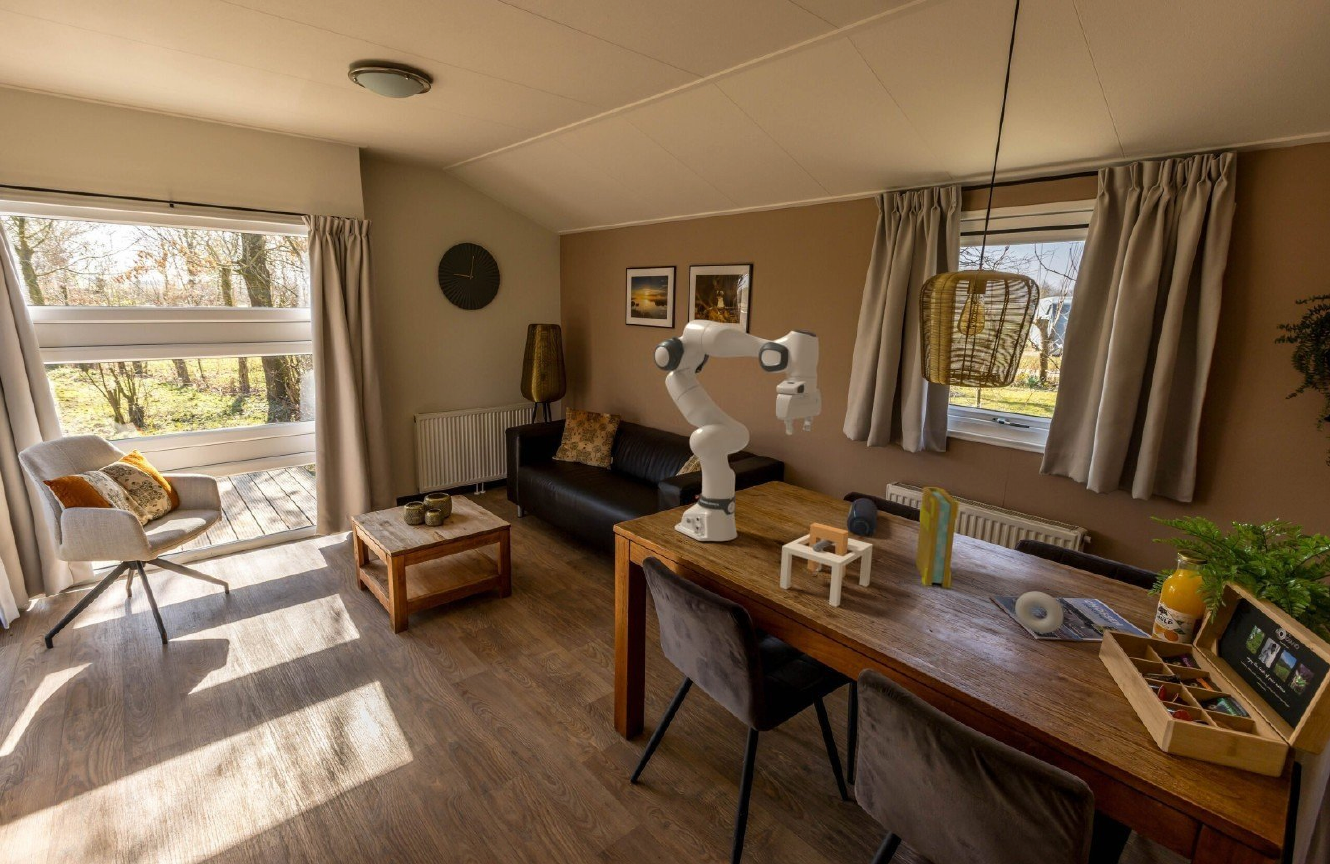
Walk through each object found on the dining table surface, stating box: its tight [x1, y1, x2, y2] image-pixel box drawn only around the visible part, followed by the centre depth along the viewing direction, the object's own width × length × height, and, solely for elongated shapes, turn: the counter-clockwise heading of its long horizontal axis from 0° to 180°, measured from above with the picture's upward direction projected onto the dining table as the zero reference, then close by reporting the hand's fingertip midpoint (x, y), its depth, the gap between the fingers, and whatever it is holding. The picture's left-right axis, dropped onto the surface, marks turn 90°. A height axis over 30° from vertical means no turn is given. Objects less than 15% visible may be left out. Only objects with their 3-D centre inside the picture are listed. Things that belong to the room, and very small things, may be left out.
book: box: [915, 486, 960, 589], centre depth 175 cm, size 17×7×25 cm, turn 168°
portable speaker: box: [846, 497, 879, 538], centre depth 216 cm, size 25×10×10 cm, turn 159°
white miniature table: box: [779, 533, 874, 608], centre depth 166 cm, size 17×20×14 cm
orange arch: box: [806, 522, 850, 579], centre depth 166 cm, size 10×3×13 cm, turn 47°
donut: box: [1014, 590, 1064, 634], centre depth 143 cm, size 10×4×10 cm, turn 48°
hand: (798, 432), depth 176 cm, fingers open, 8 cm apart
